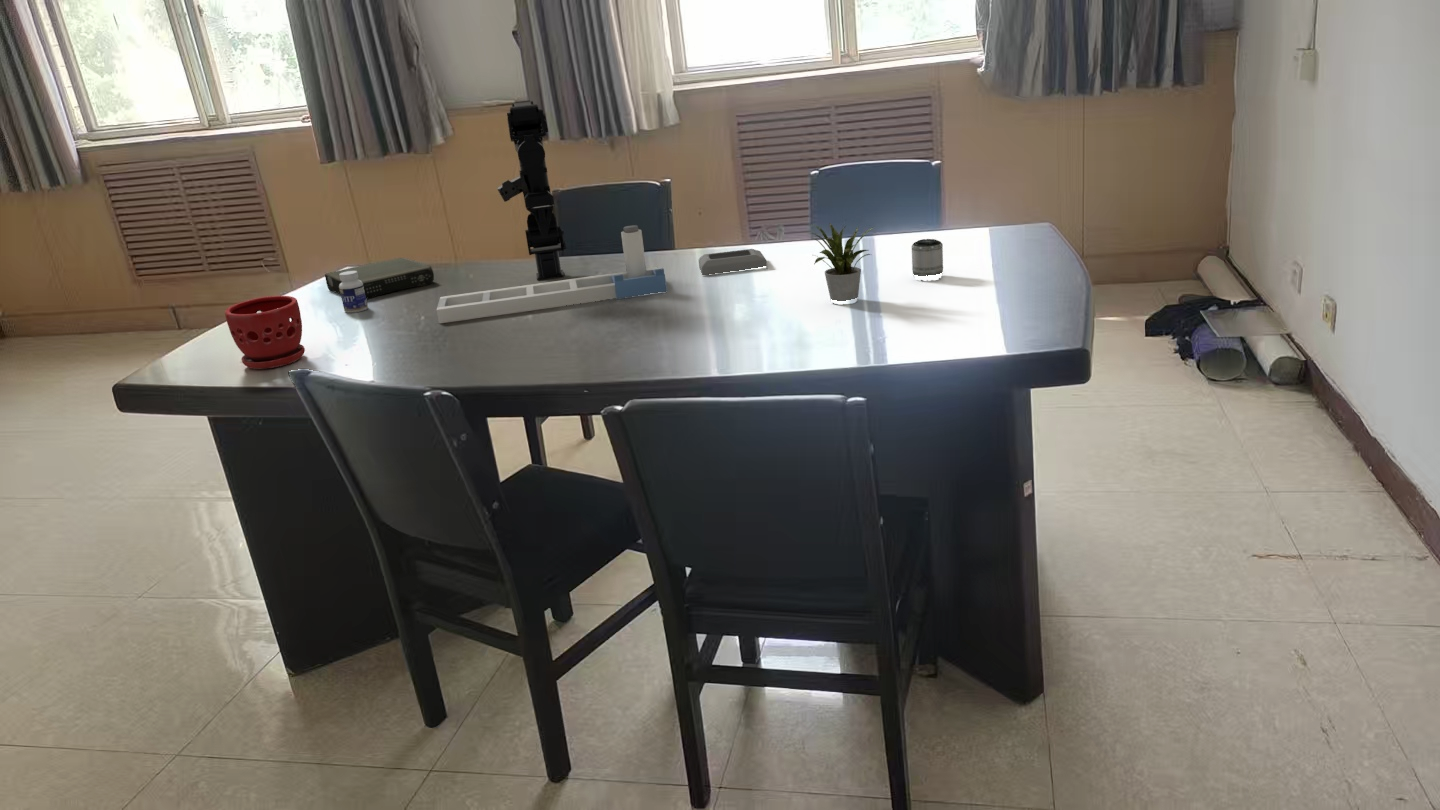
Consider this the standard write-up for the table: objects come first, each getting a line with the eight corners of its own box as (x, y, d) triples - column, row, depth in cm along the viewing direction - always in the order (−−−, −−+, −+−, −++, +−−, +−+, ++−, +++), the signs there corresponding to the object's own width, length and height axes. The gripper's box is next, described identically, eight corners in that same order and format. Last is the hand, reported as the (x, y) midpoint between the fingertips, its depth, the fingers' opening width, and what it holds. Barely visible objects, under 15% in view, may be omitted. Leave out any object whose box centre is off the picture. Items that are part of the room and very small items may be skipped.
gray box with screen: (765, 254, 231) (701, 262, 231) (767, 270, 233) (702, 278, 232) (760, 246, 240) (697, 253, 240) (761, 261, 242) (699, 269, 241)
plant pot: (225, 372, 195) (208, 313, 190) (275, 351, 206) (260, 294, 202) (277, 374, 190) (261, 313, 186) (325, 352, 201) (311, 294, 197)
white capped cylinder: (626, 292, 224) (618, 229, 219) (631, 287, 228) (622, 225, 224) (646, 290, 224) (638, 228, 219) (650, 285, 228) (642, 224, 223)
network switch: (402, 273, 271) (398, 255, 269) (447, 282, 255) (443, 262, 253) (318, 294, 256) (313, 275, 254) (360, 305, 240) (356, 284, 238)
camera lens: (920, 273, 214) (919, 237, 211) (948, 275, 211) (947, 238, 208) (907, 281, 210) (906, 243, 207) (935, 282, 206) (934, 244, 203)
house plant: (787, 306, 200) (781, 224, 194) (829, 289, 209) (824, 210, 203) (846, 314, 190) (841, 228, 185) (887, 296, 199) (884, 214, 194)
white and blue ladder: (443, 309, 225) (438, 287, 224) (659, 279, 232) (656, 257, 231) (438, 324, 213) (434, 300, 212) (667, 292, 220) (664, 269, 218)
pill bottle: (339, 313, 232) (330, 275, 229) (355, 306, 237) (346, 269, 234) (357, 313, 230) (349, 275, 227) (373, 307, 235) (364, 269, 232)
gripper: (496, 164, 232) (507, 231, 237) (496, 172, 215) (508, 245, 220) (544, 158, 234) (555, 225, 239) (548, 166, 216) (559, 238, 222)
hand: (543, 233), depth 230 cm, fingers open, 9 cm apart
